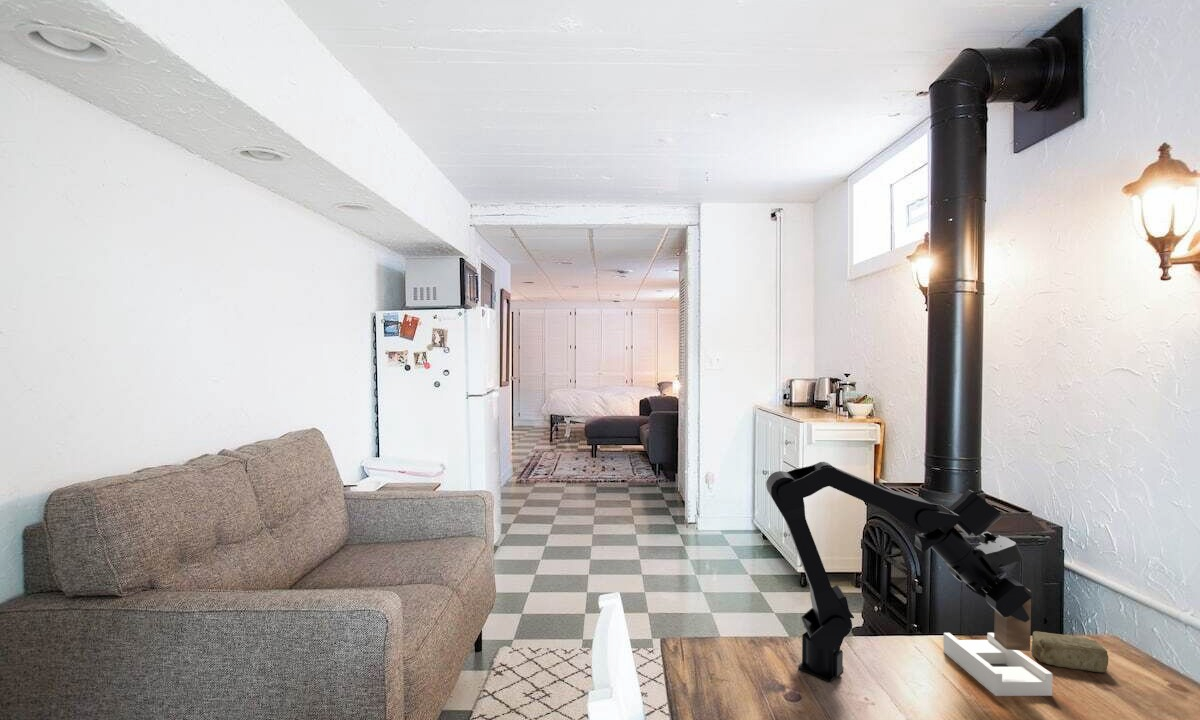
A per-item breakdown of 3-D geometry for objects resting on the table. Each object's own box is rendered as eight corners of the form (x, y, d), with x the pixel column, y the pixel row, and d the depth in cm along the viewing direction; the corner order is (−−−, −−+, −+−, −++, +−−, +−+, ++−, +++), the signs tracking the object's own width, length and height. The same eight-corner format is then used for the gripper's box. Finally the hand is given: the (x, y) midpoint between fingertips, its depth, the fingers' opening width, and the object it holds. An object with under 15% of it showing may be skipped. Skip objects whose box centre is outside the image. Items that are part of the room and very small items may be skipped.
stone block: (1110, 676, 108) (1110, 650, 108) (1039, 666, 111) (1039, 641, 111) (1094, 661, 113) (1094, 636, 113) (1027, 651, 117) (1027, 628, 117)
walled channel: (995, 695, 101) (995, 673, 101) (943, 651, 116) (943, 632, 116) (1052, 695, 101) (1052, 673, 101) (992, 651, 116) (993, 632, 116)
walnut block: (1006, 649, 103) (1007, 589, 102) (994, 638, 107) (995, 581, 106) (1030, 651, 102) (1031, 591, 102) (1017, 640, 106) (1018, 582, 106)
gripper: (1020, 539, 95) (1091, 609, 94) (965, 509, 114) (1024, 567, 112) (969, 582, 97) (1038, 651, 95) (923, 546, 115) (981, 603, 114)
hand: (1020, 614), depth 104 cm, fingers closed on walnut block, 4 cm apart
